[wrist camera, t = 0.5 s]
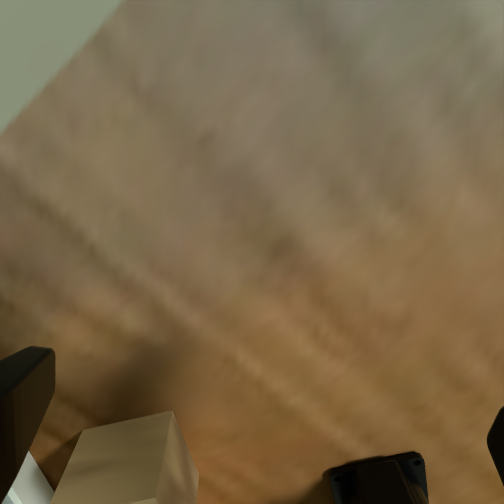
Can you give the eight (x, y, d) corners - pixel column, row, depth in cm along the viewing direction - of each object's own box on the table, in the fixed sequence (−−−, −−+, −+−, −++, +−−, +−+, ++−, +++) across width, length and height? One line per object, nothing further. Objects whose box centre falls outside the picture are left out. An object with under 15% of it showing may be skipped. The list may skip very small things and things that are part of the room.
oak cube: (199, 474, 28) (190, 570, 22) (116, 491, 28) (87, 590, 23) (172, 409, 26) (155, 497, 20) (83, 428, 26) (42, 521, 20)
